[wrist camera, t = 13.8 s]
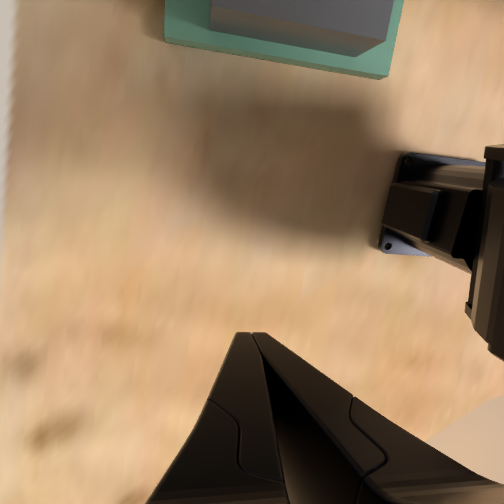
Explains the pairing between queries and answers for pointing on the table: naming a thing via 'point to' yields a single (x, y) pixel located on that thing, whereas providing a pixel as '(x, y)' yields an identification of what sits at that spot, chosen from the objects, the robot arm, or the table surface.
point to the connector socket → (306, 22)
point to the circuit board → (199, 36)
